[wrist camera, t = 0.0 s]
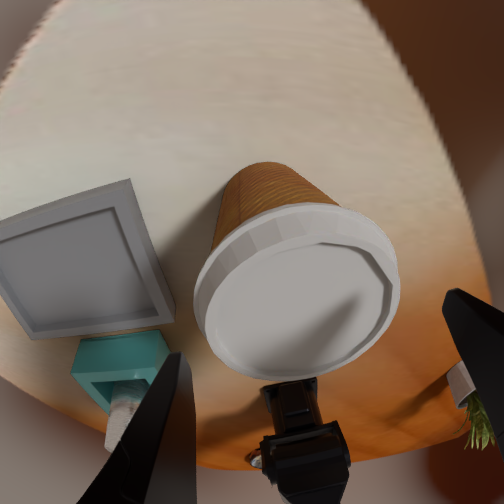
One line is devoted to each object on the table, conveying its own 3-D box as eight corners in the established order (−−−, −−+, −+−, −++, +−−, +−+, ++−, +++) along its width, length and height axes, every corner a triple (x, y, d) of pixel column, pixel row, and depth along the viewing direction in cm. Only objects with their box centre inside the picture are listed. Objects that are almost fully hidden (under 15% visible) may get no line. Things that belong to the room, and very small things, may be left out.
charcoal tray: (176, 306, 27) (174, 322, 26) (37, 326, 27) (31, 340, 25) (129, 178, 21) (122, 188, 19) (-19, 228, 20) (-30, 240, 19)
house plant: (485, 368, 46) (521, 431, 32) (427, 403, 48) (458, 473, 34) (496, 328, 38) (545, 403, 25) (427, 371, 41) (470, 458, 27)
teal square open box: (186, 381, 34) (186, 415, 30) (117, 388, 33) (112, 419, 30) (158, 329, 29) (154, 367, 25) (80, 339, 29) (70, 373, 25)
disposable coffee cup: (332, 243, 26) (396, 356, 16) (217, 269, 26) (225, 400, 16) (321, 127, 20) (420, 197, 10) (183, 156, 20) (156, 256, 10)
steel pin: (155, 374, 32) (150, 457, 23) (126, 377, 32) (116, 457, 23) (143, 354, 30) (132, 443, 21) (112, 357, 30) (97, 442, 21)
